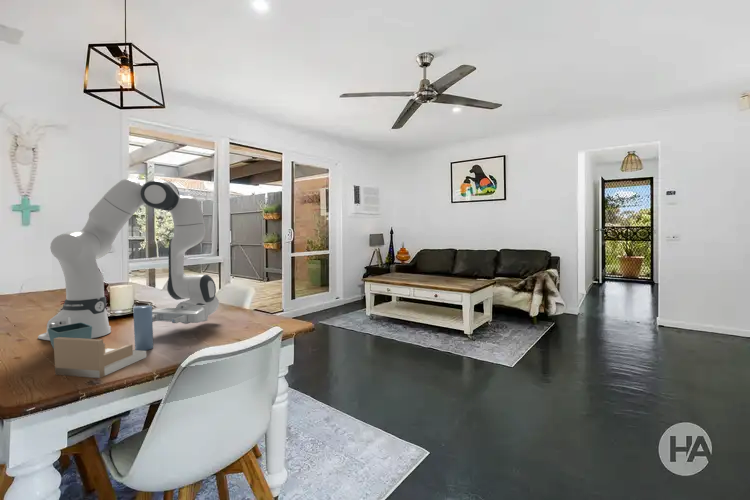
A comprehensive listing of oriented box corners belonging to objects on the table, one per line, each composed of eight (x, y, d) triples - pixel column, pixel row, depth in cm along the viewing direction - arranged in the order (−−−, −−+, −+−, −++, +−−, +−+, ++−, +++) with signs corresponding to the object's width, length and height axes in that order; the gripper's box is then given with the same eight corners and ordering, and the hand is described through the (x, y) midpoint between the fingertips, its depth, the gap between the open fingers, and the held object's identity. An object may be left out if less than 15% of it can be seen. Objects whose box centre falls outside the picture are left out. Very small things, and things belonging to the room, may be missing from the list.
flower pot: (59, 362, 108) (57, 332, 108) (48, 356, 113) (47, 328, 112) (94, 353, 115) (92, 325, 115) (82, 348, 120) (81, 322, 120)
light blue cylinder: (131, 350, 118) (129, 308, 117) (143, 345, 123) (142, 305, 122) (145, 351, 117) (143, 309, 116) (157, 346, 122) (155, 305, 121)
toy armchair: (55, 374, 99) (53, 338, 98) (107, 354, 114) (106, 323, 114) (99, 378, 96) (98, 341, 96) (146, 357, 112) (145, 325, 112)
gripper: (163, 302, 143) (135, 310, 129) (211, 304, 140) (187, 312, 126) (164, 318, 143) (136, 327, 130) (211, 320, 140) (187, 330, 127)
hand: (161, 320), depth 128 cm, fingers open, 8 cm apart
